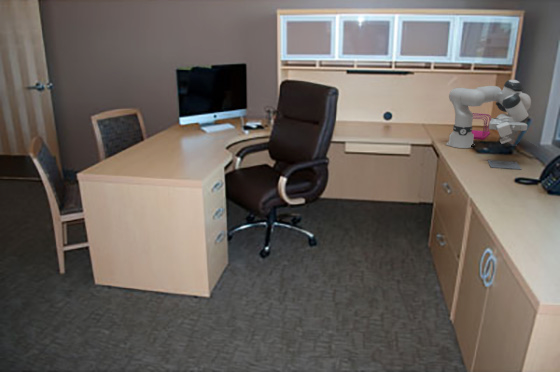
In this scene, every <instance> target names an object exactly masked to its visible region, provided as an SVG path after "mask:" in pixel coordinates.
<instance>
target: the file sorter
mask: <svg viewBox="0 0 560 372" xmlns="http://www.w3.org/2000/svg"><path fill="white" fill-rule="evenodd" d="M472 114H473V119H474V120H483V127H482V128H483V130H476V129H472V134H473V135H474V138H473V140H480V141H481V140H482V141H484V140H485V139H486V138H488V136H490V134H491V132H490V129H489V123H490V121H491V119H492V116H491V115H490V114H489V113H488V114H487V113H478V112H477V113H476V112H475V113H474V112H472Z"/></svg>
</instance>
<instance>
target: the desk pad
mask: <svg viewBox="0 0 560 372" xmlns="http://www.w3.org/2000/svg"><path fill="white" fill-rule="evenodd" d="M487 163H488V165H489V167H490V168H491V169H503V170H520V171H522V168H521V166H520V164H519V163H518V162H517V161H511V160H494V159H487Z"/></svg>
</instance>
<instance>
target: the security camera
mask: <svg viewBox="0 0 560 372" xmlns="http://www.w3.org/2000/svg"><path fill="white" fill-rule="evenodd" d="M496 127H497V130H496V131H497V132H498V135H499V137H500V139H499V142H500V143H501V145H502V144H506V143H508V142H511V141H512V137H511V136H510V135H512V134H513V130H511V128H510V125H509V123H508V122H504V123H502V124H499V125H496Z"/></svg>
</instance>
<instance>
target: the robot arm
mask: <svg viewBox="0 0 560 372" xmlns="http://www.w3.org/2000/svg"><path fill="white" fill-rule="evenodd" d="M523 90H524V87H523V85H522V83H521V81H519V80H517V79H508V80H506V81H505V82H504V85H503V88H502V89H501V87H500V86H498V85H497V86H496V85H485V86H478V87H475V88H466V87H456V88H452V89H451V90H450V92H449V94H448V98H449V102H451V103H452V105H453V108H454V114H455V115H454V117H455V118H454V125H453V127H452V129H453V130H452V132H451V133H450V134H449V136H448V141H447V142H446V144H445V145H446V146H449V147H452V148H457V149H458V148H459V149H469V148H472V147H471V145H472V144H474V139H473V138H474V135H473V134H472V130H473V118H474V116H473V115H474V114H472V113H473V112H472V111H471V110H470V108H469V107H480V106H482V105H483V104H486V103H491V102H495V105H496V106H497V108H498V110H499V111H502V112H504V113H500V114H498V115H497V116H496V117H491V121H489V122H488V123H489V128H488V130H494V131H498V130H497V127H496V125H499V124H502V123H504V122H508V123H509V125H510V128H511V131H520V132H521V131H522V132H523V131H527V130H528V124H527V123H526V121H528V119H529V117H530V115H529V113H528V111H529V109H530V108H531V106H532V98H531V97H530V95H529V94H527V93H526V92H525V93H524V92H522V91H523Z"/></svg>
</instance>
